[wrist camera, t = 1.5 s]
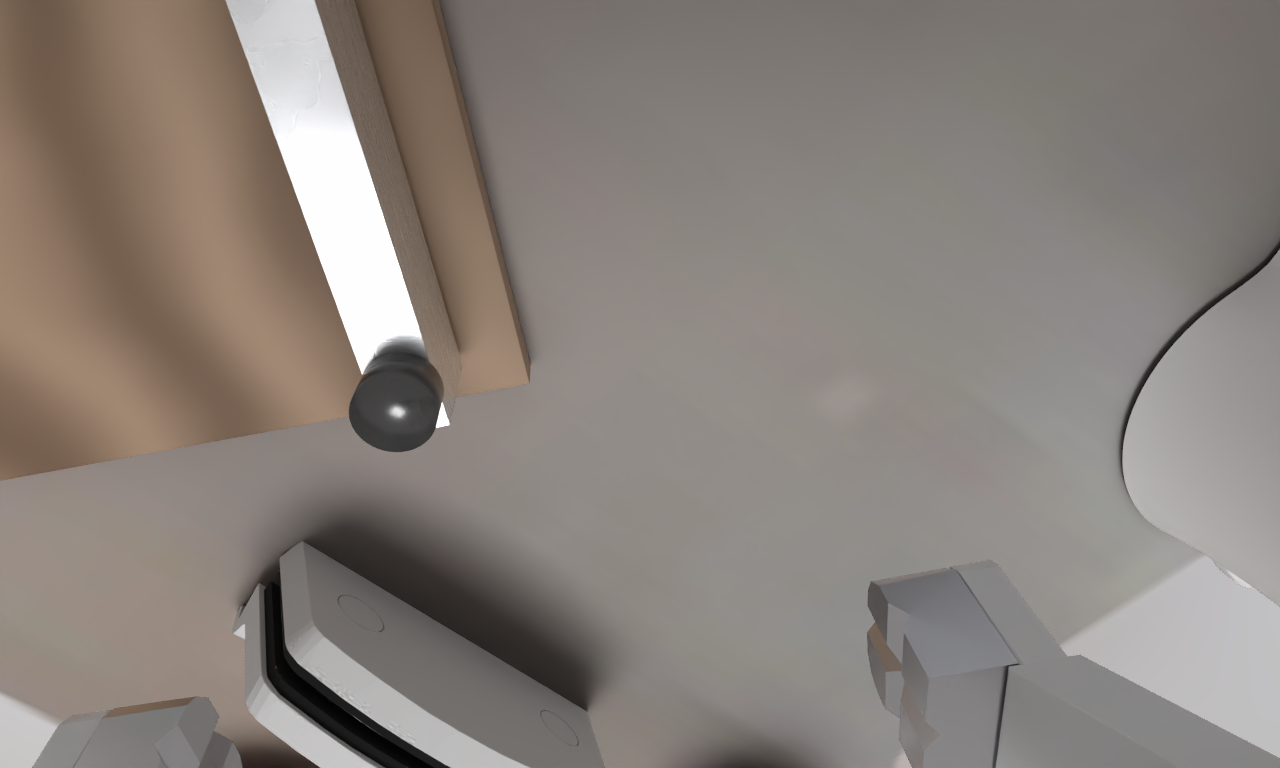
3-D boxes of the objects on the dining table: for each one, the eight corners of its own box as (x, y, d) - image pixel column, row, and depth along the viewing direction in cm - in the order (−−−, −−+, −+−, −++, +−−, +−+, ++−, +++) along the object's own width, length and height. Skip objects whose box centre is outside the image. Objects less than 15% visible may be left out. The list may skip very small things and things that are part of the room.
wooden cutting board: (363, -299, 22) (348, -318, 20) (530, 365, 31) (529, 387, 30) (-460, -150, 22) (-540, -158, 20) (-41, 469, 31) (-73, 497, 30)
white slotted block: (228, 608, 35) (184, 755, 26) (299, 522, 36) (281, 639, 26) (523, 768, 42) (571, 931, 33) (582, 694, 42) (646, 836, 33)
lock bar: (166, -210, 20) (43, -259, 16) (325, -239, 20) (251, -298, 16) (377, 381, 29) (340, 472, 24) (491, 361, 29) (477, 447, 24)
